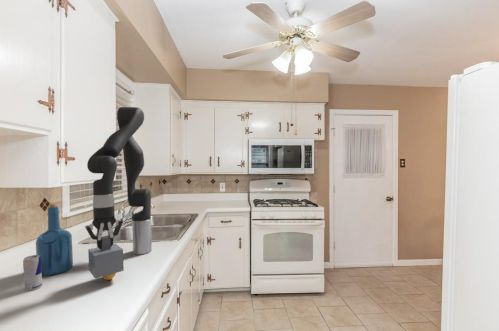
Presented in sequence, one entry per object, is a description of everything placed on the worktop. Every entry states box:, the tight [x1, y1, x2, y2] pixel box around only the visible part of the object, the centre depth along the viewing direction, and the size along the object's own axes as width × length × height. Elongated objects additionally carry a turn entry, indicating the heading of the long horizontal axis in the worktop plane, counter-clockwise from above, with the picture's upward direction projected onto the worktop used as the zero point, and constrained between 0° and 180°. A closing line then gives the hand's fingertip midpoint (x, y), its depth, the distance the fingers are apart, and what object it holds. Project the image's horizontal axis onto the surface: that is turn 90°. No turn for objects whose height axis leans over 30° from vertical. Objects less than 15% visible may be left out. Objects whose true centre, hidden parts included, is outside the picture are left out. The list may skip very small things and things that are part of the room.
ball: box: [102, 273, 116, 281], centre depth 109 cm, size 5×5×5 cm
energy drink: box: [22, 254, 43, 292], centre depth 103 cm, size 5×5×12 cm
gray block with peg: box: [87, 235, 125, 280], centre depth 108 cm, size 10×10×14 cm
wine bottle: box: [35, 203, 74, 276], centre depth 119 cm, size 14×13×30 cm
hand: (105, 247), depth 108 cm, fingers closed on gray block with peg, 3 cm apart
